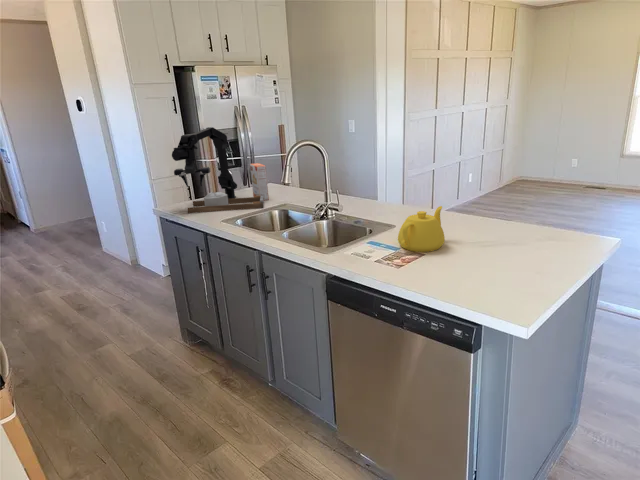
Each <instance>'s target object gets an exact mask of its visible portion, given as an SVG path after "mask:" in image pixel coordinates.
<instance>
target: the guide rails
mask: <svg viewBox="0 0 640 480" xmlns="http://www.w3.org/2000/svg"><path fill="white" fill-rule="evenodd" d="M228 204H229V205H219V206H205V203H204V200H193V201H192V206H191V207H187V213H188V214H194V213H195V214H198V213H211V212H224V211H225V212H227V211H228V212H229V211H239V210H241V211H242V210H256V209H264V204H265V201H264V197H263V195H261V196H254V197H249V196H248V197H239V198H238V197H236V198H234V199H228Z"/></svg>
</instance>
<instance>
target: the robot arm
mask: <svg viewBox="0 0 640 480" xmlns="http://www.w3.org/2000/svg"><path fill="white" fill-rule="evenodd" d="M205 138H209V139H210V140H211V141H212V143H213V146H214V147H215V148H216V150H217V151H216V152H217V157H218V163H219V171H220V174H219V176H217V180H218V184H219V186H220V188H221V189H222V190H224V193H225V194H227V196H228V199H234V198H237V196H236V195H235V193H236V192H235V190H236V189H237V188H238V184H237V183H236V182H235V181H234V178H233V176H232V174H231V173H230V169H229V162H228V157H227V149H226V148H227V145H228V136H227V134H226V133H224V132H223V131H220V130H218V129H216V128H215V127H212V126H211V127H206V128H204V129H202V130H199V131H196V132H194V133H190V134H188V133H187V134H182V135H181V136H180V139H179V143H178V145H177V147H173V150H172V153H171V158H172V159H173V160H174V161H175V162H177V161H183V160H184V163H185V165H184V169H183V168H175V169H174V171H173V174H174V175H173V176H178V177H180V178H182V181H183V182H184V183H185V185H186V187H187V188H189V182H188V178H187V175H189V174H192V175H194V174H195V173H200V174H199V179H200V180H199V181H200V182H199V183H200V187H202V185H203V181H204V178H205V176H206V175H207V174H210V172H211V168H210V167H209V166H203V167H201V168H199V165H198V163H197V156H196V150H198V147H197V146H196V144H198V141H200V140H203V139H205Z"/></svg>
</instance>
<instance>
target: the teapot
mask: <svg viewBox="0 0 640 480" xmlns="http://www.w3.org/2000/svg"><path fill="white" fill-rule="evenodd" d="M442 209H443V206H442V205H440V206H438V207H436V209H435V211H434V214H433V215H430V214H427V211H425V210H424V211H422V210H421V211H417V212H416V214H412V215H409V216H408V217H406V219H405V220H404V222H403V223H402V224H401V226H400V228H399V232H398V234H397V241H398V243H399V245H400V246H401V247H402V248H403V249H405V250H407V251H411V252H416V253H429V251H430V252H433V251H434V250H435V251H438V250H439V249H440V248H441V247H442V246H443V245H444V244H445V238H446V237H445V234H444V233H445V232H444V230H443V227H442V219H441V211H442Z"/></svg>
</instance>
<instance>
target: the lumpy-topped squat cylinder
mask: <svg viewBox="0 0 640 480" xmlns="http://www.w3.org/2000/svg"><path fill="white" fill-rule="evenodd" d="M203 201H204V203H205V206H219V205H230V204H228V196H227V194H225V192H221V191H217V192H212V191H211V192H209V193H207V194H206V195H205V196H204V197H203Z"/></svg>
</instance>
